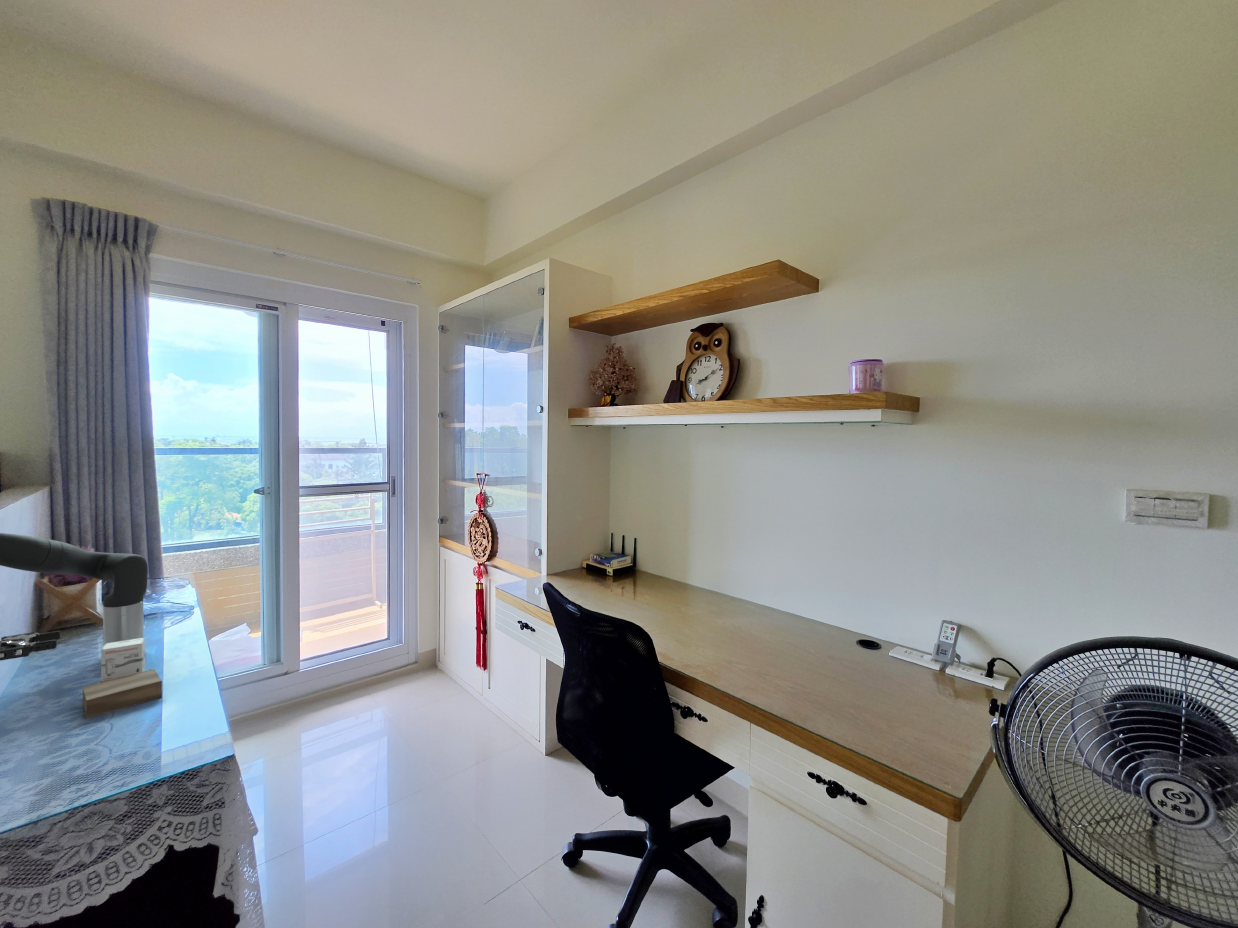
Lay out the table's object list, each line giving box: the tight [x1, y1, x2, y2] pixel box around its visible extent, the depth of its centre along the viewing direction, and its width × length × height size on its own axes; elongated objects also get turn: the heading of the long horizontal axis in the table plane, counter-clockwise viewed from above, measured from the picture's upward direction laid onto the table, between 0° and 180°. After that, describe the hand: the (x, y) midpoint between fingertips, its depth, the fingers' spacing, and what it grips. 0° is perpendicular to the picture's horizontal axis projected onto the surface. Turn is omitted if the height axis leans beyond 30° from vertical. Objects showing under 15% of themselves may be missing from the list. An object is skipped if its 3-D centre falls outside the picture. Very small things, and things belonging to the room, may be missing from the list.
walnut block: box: [82, 668, 163, 719], centre depth 133 cm, size 11×14×5 cm
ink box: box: [100, 637, 146, 682], centre depth 142 cm, size 9×5×12 cm, turn 128°
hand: (58, 639), depth 133 cm, fingers open, 8 cm apart
